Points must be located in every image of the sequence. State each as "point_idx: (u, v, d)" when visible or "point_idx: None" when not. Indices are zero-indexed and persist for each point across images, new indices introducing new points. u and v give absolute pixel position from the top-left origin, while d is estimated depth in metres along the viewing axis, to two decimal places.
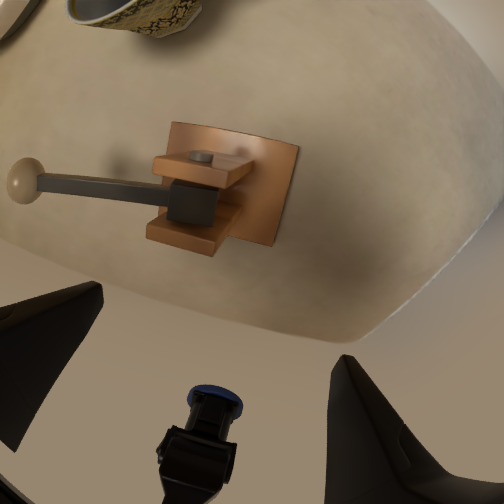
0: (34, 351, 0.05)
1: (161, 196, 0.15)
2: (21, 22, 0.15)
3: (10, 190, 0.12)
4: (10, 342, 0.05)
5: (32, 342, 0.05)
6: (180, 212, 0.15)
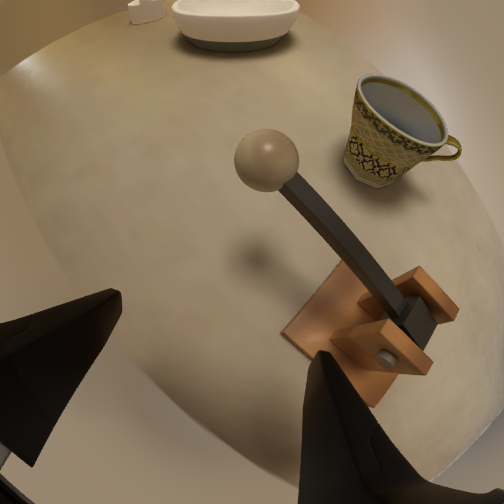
0: (53, 364, 0.05)
1: (400, 303, 0.14)
2: (224, 49, 0.35)
3: (270, 144, 0.12)
4: (29, 357, 0.05)
5: (51, 355, 0.05)
6: (414, 325, 0.13)
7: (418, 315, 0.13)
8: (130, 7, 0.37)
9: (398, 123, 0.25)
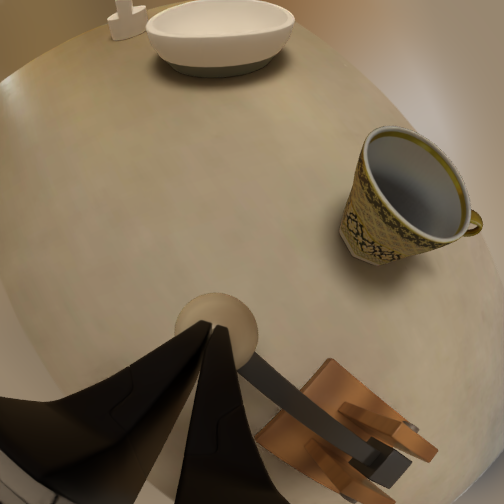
0: (161, 419, 0.05)
1: (371, 456, 0.10)
2: (205, 75, 0.32)
3: None
4: (144, 423, 0.04)
5: (161, 411, 0.05)
6: (382, 474, 0.09)
7: (389, 465, 0.10)
8: (109, 21, 0.34)
9: (409, 184, 0.21)
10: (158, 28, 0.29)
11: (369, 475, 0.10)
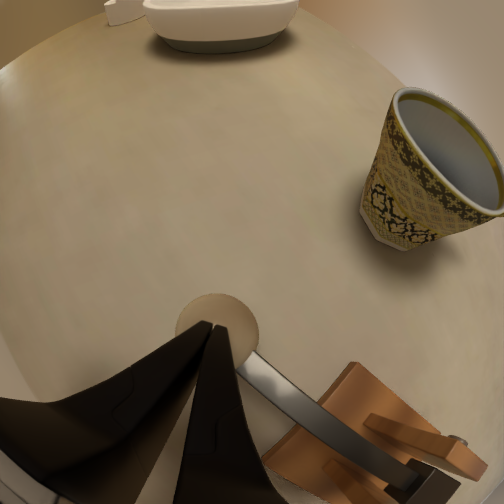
0: (162, 420, 0.05)
1: (407, 478, 0.07)
2: (205, 50, 0.28)
3: None
4: (145, 424, 0.04)
5: (162, 411, 0.05)
6: (421, 501, 0.06)
7: (429, 489, 0.06)
8: (106, 6, 0.30)
9: (436, 158, 0.17)
10: None
11: (404, 501, 0.06)
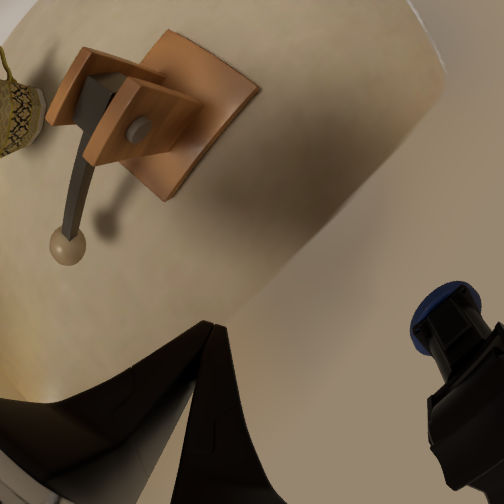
0: (164, 420, 0.05)
1: None
2: None
3: (55, 259, 0.17)
4: (147, 424, 0.04)
5: (164, 412, 0.05)
6: (91, 122, 0.10)
7: (84, 117, 0.10)
8: None
9: None
10: None
11: None
